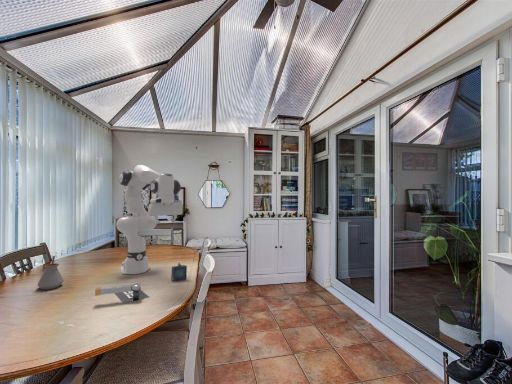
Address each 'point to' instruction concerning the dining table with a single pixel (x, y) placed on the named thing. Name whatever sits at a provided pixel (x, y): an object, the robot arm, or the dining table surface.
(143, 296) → the chassis plate
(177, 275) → the flask
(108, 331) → the dining table surface
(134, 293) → the dark grey cylinder
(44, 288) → the grey vase with sticks
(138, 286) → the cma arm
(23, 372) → the dining table surface
